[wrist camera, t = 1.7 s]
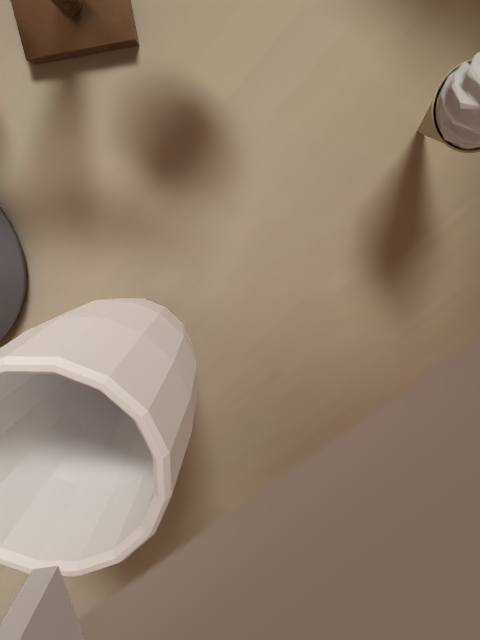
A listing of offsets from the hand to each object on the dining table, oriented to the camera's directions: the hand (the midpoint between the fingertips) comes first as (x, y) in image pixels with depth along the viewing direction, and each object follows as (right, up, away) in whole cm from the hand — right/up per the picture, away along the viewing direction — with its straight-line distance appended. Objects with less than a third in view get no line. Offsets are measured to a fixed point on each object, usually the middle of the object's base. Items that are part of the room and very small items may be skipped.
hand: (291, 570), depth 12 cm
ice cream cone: (+12, +22, +21) cm, 32 cm away
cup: (-9, +7, +25) cm, 27 cm away
